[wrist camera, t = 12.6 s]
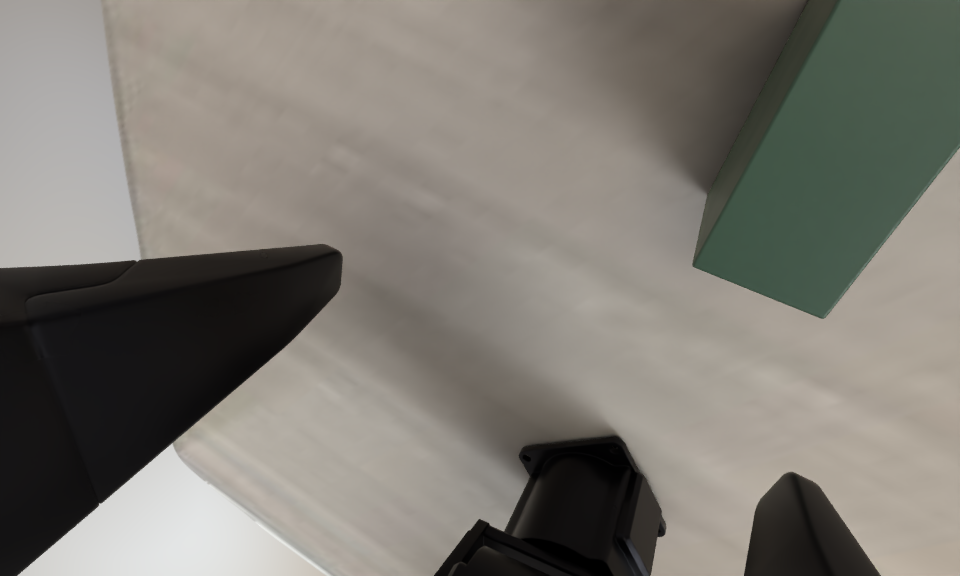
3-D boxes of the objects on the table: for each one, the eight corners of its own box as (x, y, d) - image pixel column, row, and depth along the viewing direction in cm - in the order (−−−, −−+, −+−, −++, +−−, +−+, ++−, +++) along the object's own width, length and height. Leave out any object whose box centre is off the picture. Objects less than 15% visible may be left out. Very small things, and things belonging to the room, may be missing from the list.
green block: (799, 229, 18) (824, 321, 12) (706, 196, 19) (690, 267, 13) (940, 16, 14) (1072, 7, 8) (815, -14, 15) (859, -40, 9)
